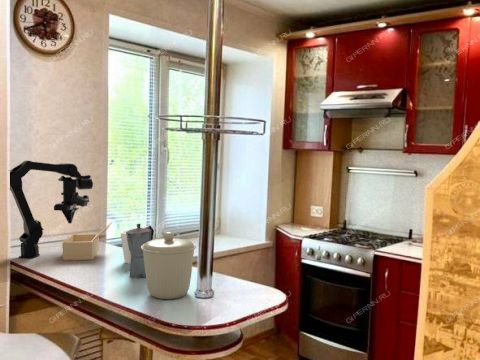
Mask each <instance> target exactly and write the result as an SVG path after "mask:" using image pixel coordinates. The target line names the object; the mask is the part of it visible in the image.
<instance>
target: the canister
mask: <svg viewBox="0 0 480 360" xmlns="http://www.w3.org/2000/svg"><path fill="white" fill-rule="evenodd" d="M162 236H163V238H156V239H153V240H151V241H148V242H146V243H145V244H144V245H142V246H141V249H142V250H143V255H144V264H145V273H146V277H145V279H146V280H145V281H146V286H147V291H148V293H149V295H150V296H152V297H153V298H156V299H161V300H174V299H178V298H181V297H184V296H185V295H187V294H188V292H189V290H190V286H191V278H192V274H193V273H192V271H193V262H194V254H195V249H196V248H197V245H196V244H195V243H194V242H192V241H191V240H187V239H184V238H177V237H176V238H175V234H174V233H173V232H171V231H166V232H165V233H164V234H163V235H162Z"/></svg>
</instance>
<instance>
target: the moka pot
mask: <svg viewBox="0 0 480 360" xmlns="http://www.w3.org/2000/svg"><path fill="white" fill-rule="evenodd" d="M141 225H142V224H141V223H137V224H136V227H135V228H132V229H128V230H129V231H127V230H126V231H127V232H126V235H127V241H128V247H129V251H130V254H131V262H130V264H129V277H131V278H136V279H138V278H139V279H141V278H142V279H143V278H146V273H145V264H144V255H143V250H142V249H141V246H142V245H144V244H145V243H146V242H148V241H151V240H154V235H155V230H154V228H153V227H152V225H148V226H147V227H141Z"/></svg>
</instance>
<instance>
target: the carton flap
mask: <svg viewBox="0 0 480 360" xmlns="http://www.w3.org/2000/svg"><path fill="white" fill-rule="evenodd" d="M112 224H113V221H111V222H110V223H109V224H108V225H106V226H105V228H103V229H102V230H101V231H100V232H98V233H97V234H98V235H97V236H96V237H95V238H94V240H95V239H96V238H97V237H99V238H100V236H101V235H102V234H103V233H105V232H106V231H107V230H108V229H109V228H110V226H111V225H112ZM94 240H93V241H94Z"/></svg>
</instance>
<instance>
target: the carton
mask: <svg viewBox="0 0 480 360" xmlns="http://www.w3.org/2000/svg"><path fill="white" fill-rule="evenodd" d="M98 234H99V233H78V234H77V233H74V234H71V235H70V236H68V237H67V238H66V239H64V241H63V242H62V259H63V261H64V262H65V261H93V260H94V258H95V257H96V255H98V253H99V251H100V236H99V237H97V238H96V239H95V240H94V238H95V237H96V236H97V235H98ZM93 240H94V241H93Z"/></svg>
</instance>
